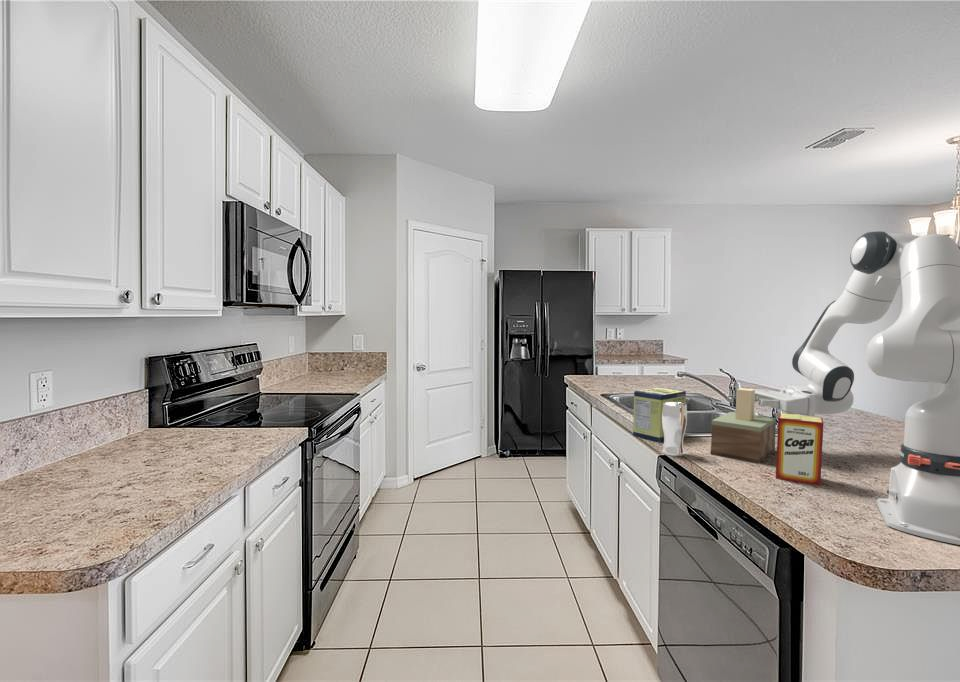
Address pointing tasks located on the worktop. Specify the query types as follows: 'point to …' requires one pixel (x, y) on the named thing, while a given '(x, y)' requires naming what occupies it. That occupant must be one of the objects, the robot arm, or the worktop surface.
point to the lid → (744, 414)
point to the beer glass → (674, 427)
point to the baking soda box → (799, 448)
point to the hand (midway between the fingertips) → (750, 400)
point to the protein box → (652, 411)
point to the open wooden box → (743, 443)
